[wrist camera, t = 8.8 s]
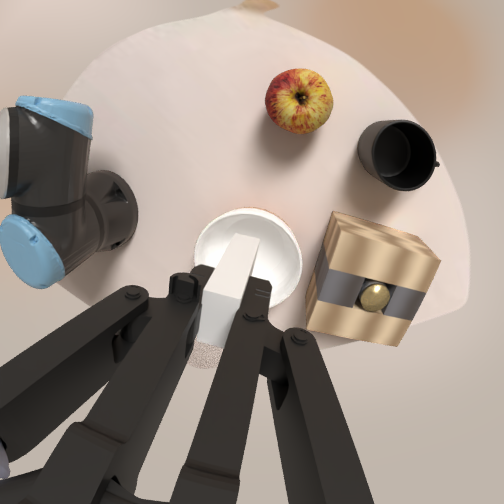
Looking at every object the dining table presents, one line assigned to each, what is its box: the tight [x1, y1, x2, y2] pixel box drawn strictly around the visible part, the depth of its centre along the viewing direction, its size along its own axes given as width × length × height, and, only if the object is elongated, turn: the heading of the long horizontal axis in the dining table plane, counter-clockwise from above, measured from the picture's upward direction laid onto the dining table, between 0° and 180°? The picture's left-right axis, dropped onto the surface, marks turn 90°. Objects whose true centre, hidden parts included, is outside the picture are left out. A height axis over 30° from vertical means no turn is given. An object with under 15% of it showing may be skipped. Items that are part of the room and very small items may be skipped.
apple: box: [265, 69, 333, 134], centre depth 36 cm, size 9×9×10 cm
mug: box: [358, 120, 440, 191], centre depth 37 cm, size 9×12×9 cm
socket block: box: [306, 211, 441, 347], centre depth 45 cm, size 16×16×10 cm
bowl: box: [194, 207, 303, 308], centre depth 47 cm, size 16×16×8 cm
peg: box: [358, 278, 390, 312], centre depth 44 cm, size 4×4×9 cm
